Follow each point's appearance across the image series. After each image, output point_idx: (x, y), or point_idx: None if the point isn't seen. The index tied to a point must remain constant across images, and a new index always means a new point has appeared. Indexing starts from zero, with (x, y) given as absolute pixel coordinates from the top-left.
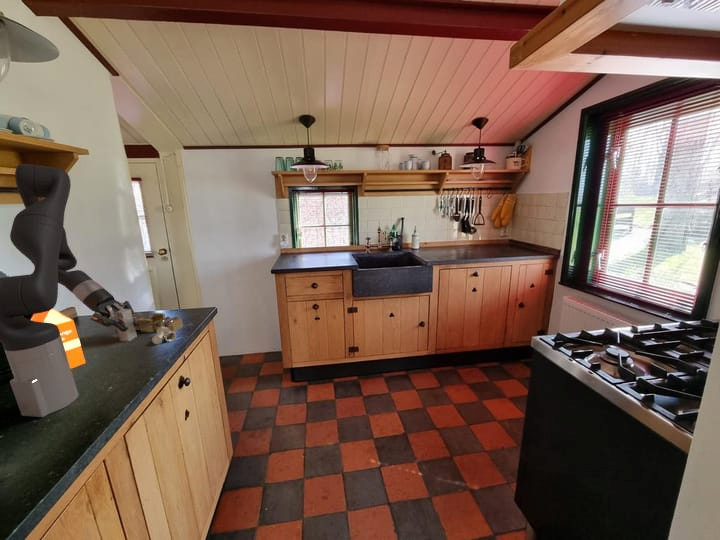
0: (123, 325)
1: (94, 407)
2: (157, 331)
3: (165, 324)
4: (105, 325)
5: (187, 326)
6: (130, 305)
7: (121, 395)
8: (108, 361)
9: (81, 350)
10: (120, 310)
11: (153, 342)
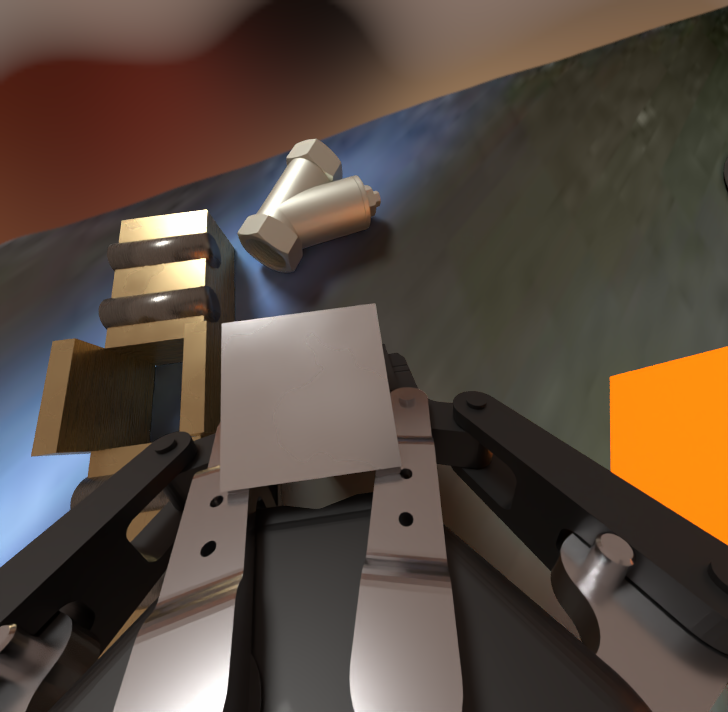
0: (386, 358)
1: (711, 80)
2: (294, 243)
3: (211, 254)
4: (497, 459)
5: None
6: (10, 559)
7: (643, 65)
8: (551, 282)
9: (693, 356)
10: (295, 434)
11: (368, 224)
